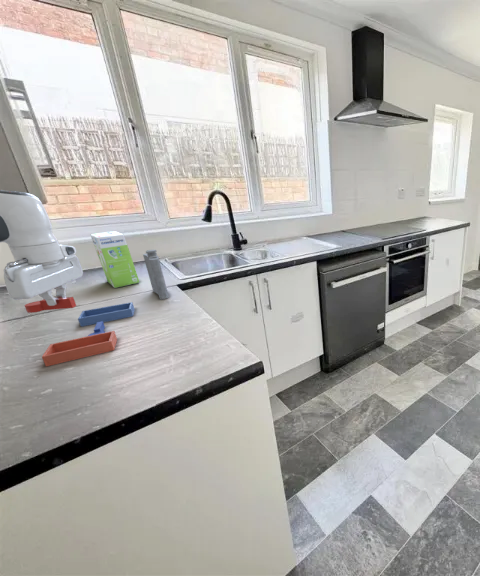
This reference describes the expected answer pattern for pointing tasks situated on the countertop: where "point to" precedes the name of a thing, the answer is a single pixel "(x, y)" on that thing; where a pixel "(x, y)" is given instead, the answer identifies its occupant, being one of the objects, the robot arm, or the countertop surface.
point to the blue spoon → (98, 328)
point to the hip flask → (155, 274)
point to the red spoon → (42, 305)
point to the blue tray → (106, 314)
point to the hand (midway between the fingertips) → (58, 302)
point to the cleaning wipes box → (115, 258)
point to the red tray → (79, 348)
